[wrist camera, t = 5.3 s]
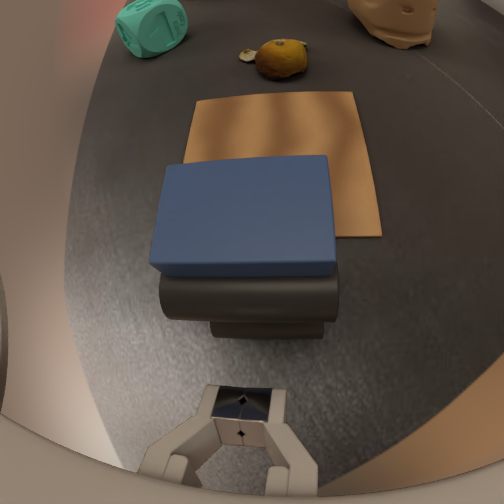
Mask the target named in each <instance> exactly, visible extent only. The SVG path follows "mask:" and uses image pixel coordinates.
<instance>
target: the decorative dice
mask: <svg viewBox="0 0 504 504" xmlns="http://www.w3.org/2000/svg"><path fill="white" fill-rule="evenodd" d="M115 25H116V29H117V31H118V33H119V35H120V37H121V39H122V41H123V42H124V44H125V45H126V46H127V48H128V49H129V50H130V51H131V52H132V53H133V54H134V55H135V56H137V57H139V58H149V57H154V56H157V55H160V54H162V53H165V52H167V51H169V50H170V49H172V48H174V47H175V46H177V45H178V44H179V43H180V42H181V41H182V39H183V38H184V36H185V34H186V32H187V29H188V19H187V15H186V13H185V11H184V9H183V7H182V5H181V4H180V3H179V1H178V0H137V1H135V2H133V3H131V4H130V5H128V6H126V7H125V8H123V9H122V10H121V11H120V12H119V13H118V15H117V17H116V20H115Z"/></svg>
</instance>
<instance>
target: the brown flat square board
mask: <svg viewBox="0 0 504 504" xmlns="http://www.w3.org/2000/svg"><path fill="white" fill-rule="evenodd" d="M295 155H326V156H327V157H328V165H329V174H330V183H331V192H332V202H333V213H334V225H335V238H358V237H382V231H381V224H380V217H379V211H378V205H377V199H376V193H375V188H374V182H373V177H372V172H371V167H370V162H369V158H368V153H367V148H366V144H365V140H364V136H363V131H362V127H361V123H360V119H359V116H358V112H357V108H356V104H355V101H354V97H353V94H352V92H286V93H268V94H255V95H244V96H234V97H225V98H217V99H210V100H202V101H197V104H196V108H195V112H194V116H193V120H192V125H191V129H190V134H189V138H188V143H187V148H186V152H185V157H184V162H183V164H184V163H194V162H203V161H214V160H225V159H238V158H253V157H271V156H295Z"/></svg>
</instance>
